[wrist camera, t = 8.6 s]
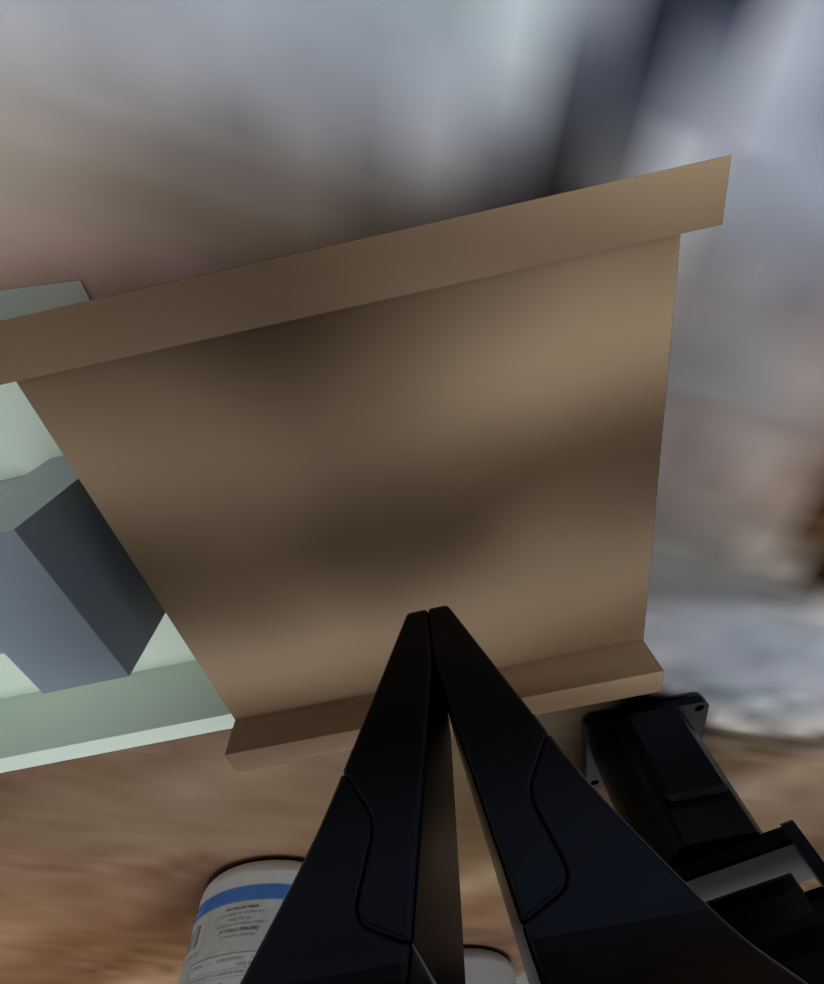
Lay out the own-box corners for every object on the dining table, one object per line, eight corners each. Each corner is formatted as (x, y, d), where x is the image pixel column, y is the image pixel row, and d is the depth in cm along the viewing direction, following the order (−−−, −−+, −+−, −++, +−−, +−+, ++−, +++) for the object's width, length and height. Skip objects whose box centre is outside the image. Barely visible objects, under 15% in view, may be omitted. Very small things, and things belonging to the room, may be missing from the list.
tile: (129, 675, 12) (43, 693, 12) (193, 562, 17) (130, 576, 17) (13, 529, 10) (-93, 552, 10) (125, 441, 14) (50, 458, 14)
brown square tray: (586, 575, 19) (660, 691, 14) (271, 638, 20) (236, 772, 15) (586, 191, 12) (731, 155, 7) (101, 301, 13) (-74, 337, 8)
